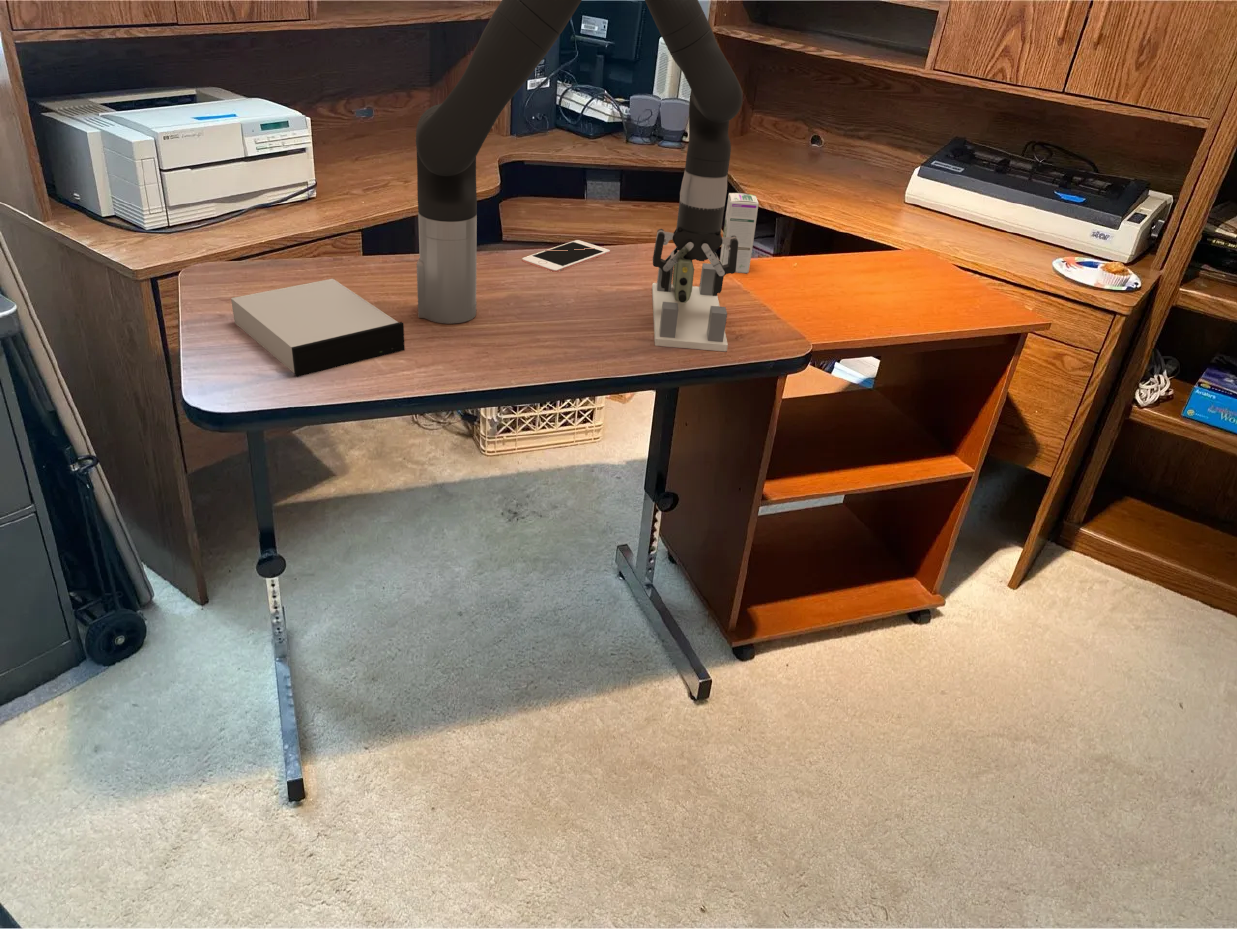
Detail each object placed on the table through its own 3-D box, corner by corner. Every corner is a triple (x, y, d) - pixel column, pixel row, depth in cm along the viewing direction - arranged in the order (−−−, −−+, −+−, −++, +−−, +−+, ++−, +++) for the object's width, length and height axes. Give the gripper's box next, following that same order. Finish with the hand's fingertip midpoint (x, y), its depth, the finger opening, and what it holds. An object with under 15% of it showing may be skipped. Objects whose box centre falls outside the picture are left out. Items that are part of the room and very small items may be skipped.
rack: (654, 345, 153) (658, 310, 150) (652, 288, 175) (655, 257, 172) (726, 351, 153) (732, 316, 150) (714, 294, 175) (719, 262, 172)
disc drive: (297, 380, 133) (293, 348, 130) (233, 326, 147) (229, 296, 144) (405, 353, 144) (404, 323, 141) (336, 304, 157) (334, 276, 155)
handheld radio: (689, 288, 173) (692, 307, 150) (671, 286, 174) (672, 305, 150) (693, 252, 171) (696, 265, 148) (675, 250, 172) (676, 263, 148)
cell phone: (520, 262, 182) (520, 258, 182) (577, 243, 195) (577, 239, 195) (555, 274, 178) (555, 270, 178) (610, 254, 191) (611, 250, 190)
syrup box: (749, 273, 187) (761, 202, 179) (720, 271, 187) (730, 199, 179) (746, 264, 192) (757, 194, 184) (717, 261, 192) (728, 191, 184)
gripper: (660, 202, 150) (650, 297, 158) (747, 210, 150) (732, 304, 159) (659, 190, 156) (649, 281, 165) (742, 197, 157) (728, 288, 165)
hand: (690, 292), depth 162 cm, fingers open, 8 cm apart
